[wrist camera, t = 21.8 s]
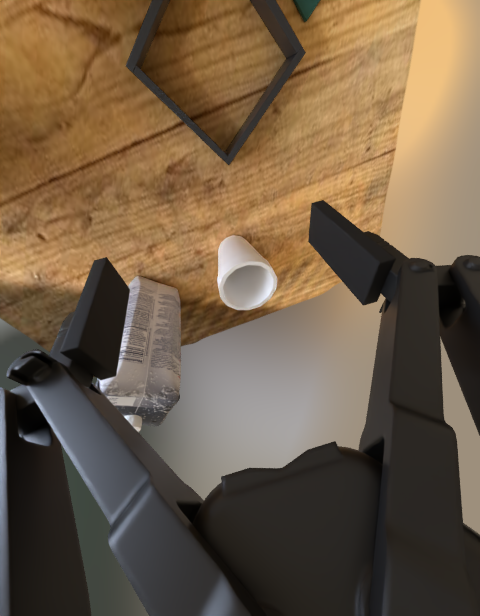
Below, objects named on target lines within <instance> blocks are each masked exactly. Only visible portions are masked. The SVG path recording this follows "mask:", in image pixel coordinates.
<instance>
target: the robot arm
mask: <svg viewBox="0 0 480 616" xmlns="http://www.w3.org/2000/svg"><path fill="white" fill-rule="evenodd" d="M308 242H309V243H310V244H311V245H312V246H313V247H314V249H315V250H316V251H317V252H318V253H319V254H320V256H321V257H322V258H323V259H324V260H325V261H326V263H327V264H328V265H329V266H330V267H331V268H332V270H333V271H334V272H335V273H336V274H337V275H338V277H339V278H340V279H341V280H342V281H343V282H344V283H345V285H346V286H347V287H348V288H349V289H350V291H351V292H352V293H353V294H354V295H355V296H356V297H357V299H358V300H359V301H360V302H361V303H362V305H367V304H370V303H374V302H377V300H378V298H379V296H380V294H382V295H383V296H384V297H385V298H386V299H385V301H384V303H383V305H382V307H381V309H380V311H379V312H380V313H381V312H382V316H381V323H380V330H379V336H378V343H377V350H376V358H375V364H374V370H373V377H372V385H371V391H370V398H369V404H368V411H367V418H366V424H365V428H364V431H363V433H362V436H361V439H360V445H359V451H358V450H355V449H351V448H347V447H339V446H337V444H336V442H331V443H328V444H325V445H322V446H318V447H315V448H312V449H309V450H307V451H305V452H304V453H303V454H301V455H300V456H298V457H297V458H296V459H294V460H293V461H292V462H290V463H289V464H288V465H286V466H285V467H283V468H277V469H275V468H274V469H273V468H248V469H245V470H242V471H238V472H235V473H232V474H229V475H225V476H222V477H221V480H222V483H220V484H219V485H218V486H217V487H216V488H215V489H213V490H212V491H211V493H210V494H209V495H208V496H207V498H206V499H205V500H203V499H202V498H201V497H200V496H199V495H198V494H197V493H196V492H195V491H194V490H193V489H192V488H191V487H189V486H188V485H186V484H185V483H184V482H183V481H182V480H181V479H180V478H179V477H178V476H177V475H176V474H175V473H174V472H173V470H172V469H171V468H170V467H169V466H168V465H167V464H166V463H165V462H164V461H163V459H162V458H161V457H160V456H159V455H158V454H157V453H156V452H155V451H154V449H153V448H152V447H151V446H150V445H149V444H148V443H147V442H146V441H145V439H144V438H143V437H142V436H141V435H140V434H139V433H138V432H137V430H136V429H135V428H134V427H133V426H132V425H131V424H130V423H129V422H128V420H127V419H126V418H125V417H124V416H123V415H122V414H121V413H120V412H119V410H118V409H117V408H116V407H115V406H114V405H113V404H112V403H111V402H110V400H109V399H108V398H107V397H106V396H105V395H104V394H103V393H102V392H101V391H100V389H99V388H98V387H97V386H96V385H94V384H93V383H92V379H93V375H94V376H95V377H97V378H98V379H100V380H105V379H108V378H112V377H115V376H116V374H117V368H118V362H119V356H120V349H121V343H122V337H123V331H124V325H125V319H126V312H127V306H128V300H129V294H130V289H129V287H128V286H127V285H126V283H125V282H124V280H123V279H122V278H121V276H120V275H119V274H118V272H117V271H116V269H115V268H114V267H113V265H112V264H111V262H110V261H109V260H108V258H107V257H106V258H102V259H98V260H94V263H93V265H92V268H91V270H90V273H89V276H88V278H87V281H86V284H85V286H84V289H83V292H82V294H81V297H80V299H79V302H78V305H77V307H76V310H75V312H72V313H70V314H69V315H68V316H67V317H66V319H65V320H64V321H63V323H62V325H61V328H60V331H59V333H58V335H57V337H58V338H56V340H55V342H54V345H53V347H52V350H51V352H50V355H47V354H46V353H44V352H42V351H41V350H38V349H37V350H31V351H28V352H26V353H24V354H23V355H21V356H20V357H18V358H17V359H16V360H15V361H14V362H13V363H12V364H11V366H10V367H9V369H8V372H7V378H9V379H12V380H14V381H16V382H18V383H20V384H21V385H20V386H18V387H16V388H14V389H12V390H10V391H7V390H5V389H3V388H0V616H91V608H90V601H89V594H88V587H87V582H86V576H85V571H84V566H83V560H82V556H81V550H80V545H79V539H78V534H77V529H76V523H75V518H74V513H73V507H72V503H71V496H70V491H69V486H68V481H67V475H66V470H65V465H64V460H63V454H62V449H61V444H62V446H63V447H64V449H65V450H66V452H67V454H68V455H69V457H70V459H71V460H72V462H73V464H74V465H75V467H76V468H77V470H78V472H79V473H80V475H81V477H82V478H83V480H84V482H85V483H86V485H87V486H88V488H89V490H90V491H91V493H92V495H93V496H94V498H95V499H96V501H97V503H98V504H99V506H100V508H101V509H102V511H103V512H104V514H105V516H106V518H107V519H108V521H109V523H110V527H111V529H110V532H109V534H108V542H109V545H110V547H111V550H112V552H113V554H114V555H115V557H116V559H117V561H118V562H119V564H120V566H121V567H122V569H123V571H124V573H125V574H126V576H127V578H128V580H129V581H130V583H131V585H132V586H133V588H134V590H135V592H136V594H137V595H138V597H139V599H140V601H141V602H142V604H143V606H144V607H145V609H146V611H147V613H148V614H149V616H480V535H479V534H478V533H477V532H475V531H474V530H473V529H471V528H470V527H468V526H467V525H465V524H464V523H463V518H462V506H461V491H460V478H459V465H458V464H459V463H458V449H457V439H456V434H455V432H454V430H453V428H452V427H451V426H450V425H448V424H447V423H446V422H445V420H444V414H443V394H442V393H443V392H442V368H441V346H440V337H441V339H442V342H443V344H444V347H445V349H446V352H447V354H448V357H449V359H450V362H451V364H452V367H453V370H454V372H455V375H456V377H457V380H458V382H459V385H460V387H461V390H462V392H463V395H464V397H465V400H466V402H467V405H468V407H469V410H470V412H471V415H472V418H473V420H474V423H475V425H476V427H477V430H478V432H479V435H480V257H478V256H472V255H465V256H460V257H457V259H456V260H455V261H454V263H453V264H452V265H445V266H435V265H434V264H433V263H432V262H429V261H427V260H425V259H420V258H410V259H409V258H407V257H406V256H405V255H403V254H402V253H401V252H400V251H398V250H397V249H396V248H394V247H393V246H392V245H390V244H389V243H388V242H386V241H384V239H382V238H381V237H380V236H378V235H377V234H374V233H371V232H369V231H367V232H362V231H361V230H360V229H359V228H357V227H356V226H355V225H354V224H352V223H351V222H350V221H349V220H347V219H346V218H345V217H344V216H342V215H341V214H340V213H339V212H337V211H336V210H335V209H334V208H332V207H331V206H330V205H329V204H327V203H326V202H325V201H324V200H322V201H318V202H314V203H312V205H311V217H310V229H309V241H308ZM60 442H61V443H60Z"/></svg>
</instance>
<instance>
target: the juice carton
mask: <svg viewBox="0 0 480 616" xmlns="http://www.w3.org/2000/svg"><path fill="white" fill-rule="evenodd" d="M128 287H129V289H130V294H129V300H128V306H127V312H126V319H125V325H124V331H123V337H122V343H121V349H120V356H119V362H118V368H117V374H116V376H115V377H112V378H108V379H105V380H100V379H98V378H97V381H96V384H95V385H96V386H97V387H98V388H99V389H100V391H101V392H102V393H103V394H104V395H105V396H106V397H107V398H108V399H109V400H110V402H111V403H112V404H113V405H114V406H115V407H116V408H117V409H118V410H119V412H120V413H121V414H122V415H123V416H124V417H125V418H126V419H127V420H128V422H129V423H130V424H131V425H132V426H133V427H134V428H135V429H136V430H137V432H139V431H140V430H141V425H149V426H159V425H161V424H162V422H163V421H164V420H165V418H166V416H167V414H168V413H169V411H170V410H171V409H172V408H173V406H174V405H175V404H176V403H177V402H178V400H179V398H180V395H179V388H180V376H181V374H180V373H181V307H180V298H179V293H178V290H177V288H174V287H171V286H168V285H164V284H161V283H157V282H154V281H152V280H149V279H146V278H143V277H140V276H136V277H135V278H134V279H133V280H132V282H131V283H130V284H129V285H128Z"/></svg>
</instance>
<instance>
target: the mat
mask: <svg viewBox="0 0 480 616" xmlns="http://www.w3.org/2000/svg"><path fill="white" fill-rule="evenodd" d="M293 1H294V3H295V5H296V7H297V9H298V11H299V13H300V14H301V16H302V18H303V20H304V22H306V21H307V20H308V18H309V17H310V15H311V14H312V12H313V10H314V9H315V7H316V6H317V4H318V3H319V1H320V0H293Z"/></svg>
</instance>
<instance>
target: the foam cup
mask: <svg viewBox="0 0 480 616" xmlns="http://www.w3.org/2000/svg"><path fill="white" fill-rule="evenodd" d="M217 282H218V289H219V294H220V298H221V299H222V300H223V301H224V303H225V304H226V305H227V306H229V307H231V308H234V309H236V310H251V309H254V308H257V307H260V306H262V305H263V304H264V303H265V302H267V301H268V300H269V299H271V297H272V295H273V293H274V292H275V290H276V287H277V276H276V275H275V273H274V271H273V269H272V267H271V265H270V264H269V262H268V261H267V260H266V259H264V258H263V257H262V256H261V255H260V254H259V253H258V252H257V251H256V250H255V249H254V247H253V246H252V245H251V244H250V243H249V242H248V241H247V240H246V239H244V238H243V237H241V236H236V235H232V236H229V237H227V238H225V239H224V240H223V241H222V242H221V244H220V246H219V249H218V277H217Z"/></svg>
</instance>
